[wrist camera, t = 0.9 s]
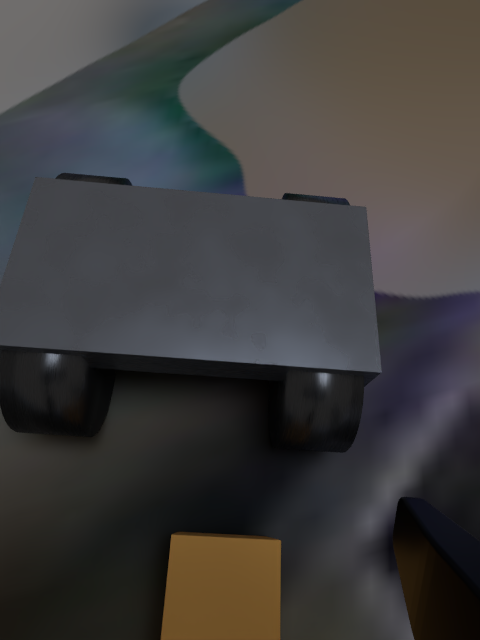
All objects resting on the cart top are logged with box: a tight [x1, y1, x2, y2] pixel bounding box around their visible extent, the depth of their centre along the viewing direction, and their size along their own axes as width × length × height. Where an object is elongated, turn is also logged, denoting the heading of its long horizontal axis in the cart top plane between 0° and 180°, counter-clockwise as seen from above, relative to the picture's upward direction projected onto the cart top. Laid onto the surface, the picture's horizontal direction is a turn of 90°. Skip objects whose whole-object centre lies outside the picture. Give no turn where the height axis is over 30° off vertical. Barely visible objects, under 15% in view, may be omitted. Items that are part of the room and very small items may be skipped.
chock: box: [161, 532, 281, 640], centre depth 17 cm, size 6×4×4 cm, turn 177°
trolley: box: [0, 173, 382, 453], centre depth 21 cm, size 13×15×6 cm
